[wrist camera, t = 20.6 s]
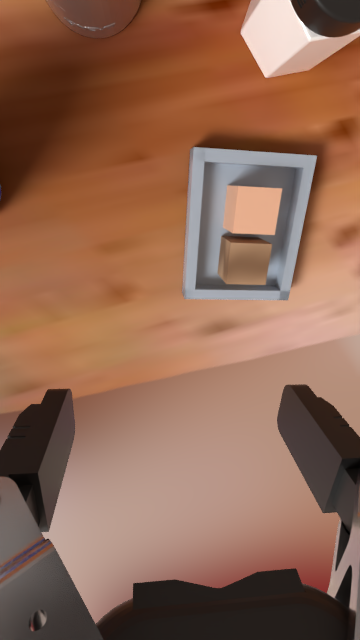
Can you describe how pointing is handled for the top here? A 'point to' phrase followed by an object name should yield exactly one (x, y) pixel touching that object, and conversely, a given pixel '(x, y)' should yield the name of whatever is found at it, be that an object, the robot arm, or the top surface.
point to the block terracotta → (251, 210)
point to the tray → (207, 228)
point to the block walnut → (244, 260)
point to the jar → (298, 32)
